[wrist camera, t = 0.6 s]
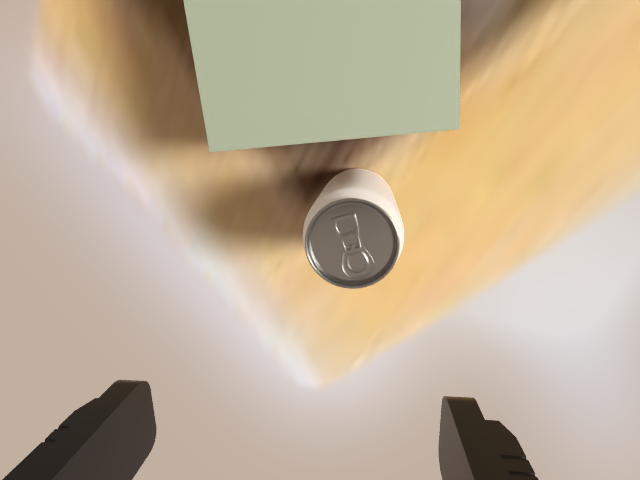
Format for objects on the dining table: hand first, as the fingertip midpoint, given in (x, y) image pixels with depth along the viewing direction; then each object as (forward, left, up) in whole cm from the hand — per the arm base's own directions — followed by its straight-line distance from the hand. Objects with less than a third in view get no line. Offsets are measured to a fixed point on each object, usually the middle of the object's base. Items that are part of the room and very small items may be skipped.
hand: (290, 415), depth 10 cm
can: (-1, +1, -25) cm, 25 cm away
